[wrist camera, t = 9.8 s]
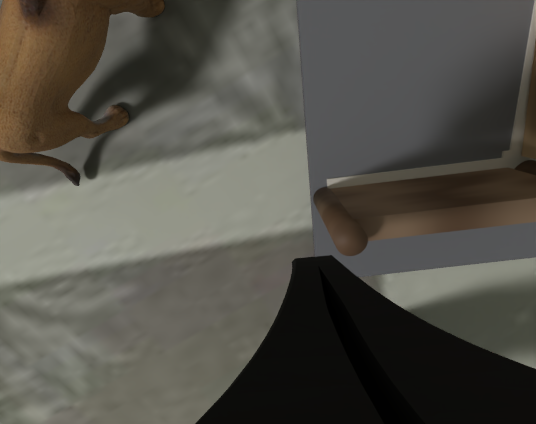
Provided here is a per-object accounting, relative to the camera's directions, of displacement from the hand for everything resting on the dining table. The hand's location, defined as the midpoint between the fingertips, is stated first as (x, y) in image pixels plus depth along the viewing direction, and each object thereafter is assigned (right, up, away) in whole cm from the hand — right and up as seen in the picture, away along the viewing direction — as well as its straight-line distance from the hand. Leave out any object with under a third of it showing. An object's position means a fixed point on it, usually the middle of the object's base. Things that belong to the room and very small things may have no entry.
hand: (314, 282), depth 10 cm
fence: (+8, +4, +8) cm, 12 cm away
